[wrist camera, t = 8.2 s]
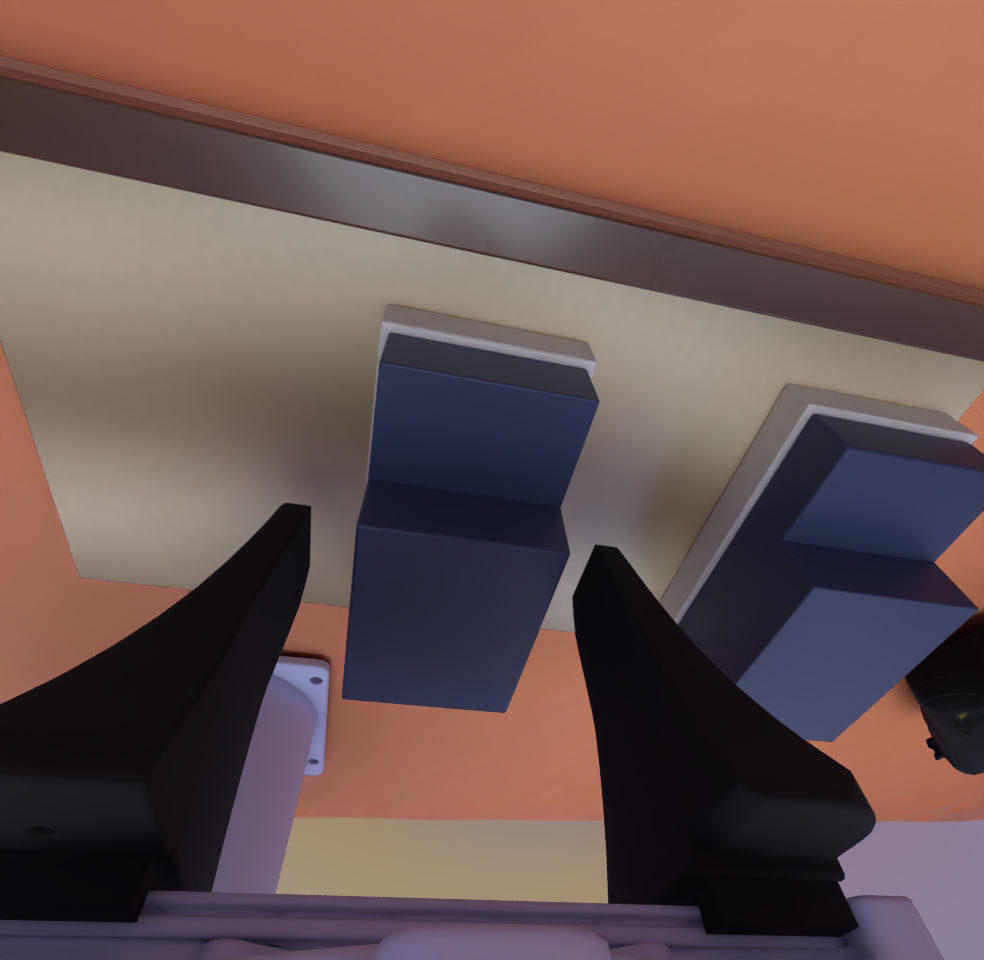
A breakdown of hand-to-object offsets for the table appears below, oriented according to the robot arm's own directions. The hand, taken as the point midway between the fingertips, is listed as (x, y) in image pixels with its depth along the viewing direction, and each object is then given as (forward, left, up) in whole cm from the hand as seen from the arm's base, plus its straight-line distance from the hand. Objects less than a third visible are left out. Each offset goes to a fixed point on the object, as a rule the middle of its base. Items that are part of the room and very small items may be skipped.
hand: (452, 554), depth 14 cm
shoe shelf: (+1, -1, -4) cm, 5 cm away
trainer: (0, 0, -3) cm, 3 cm away
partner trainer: (0, -11, -3) cm, 11 cm away
